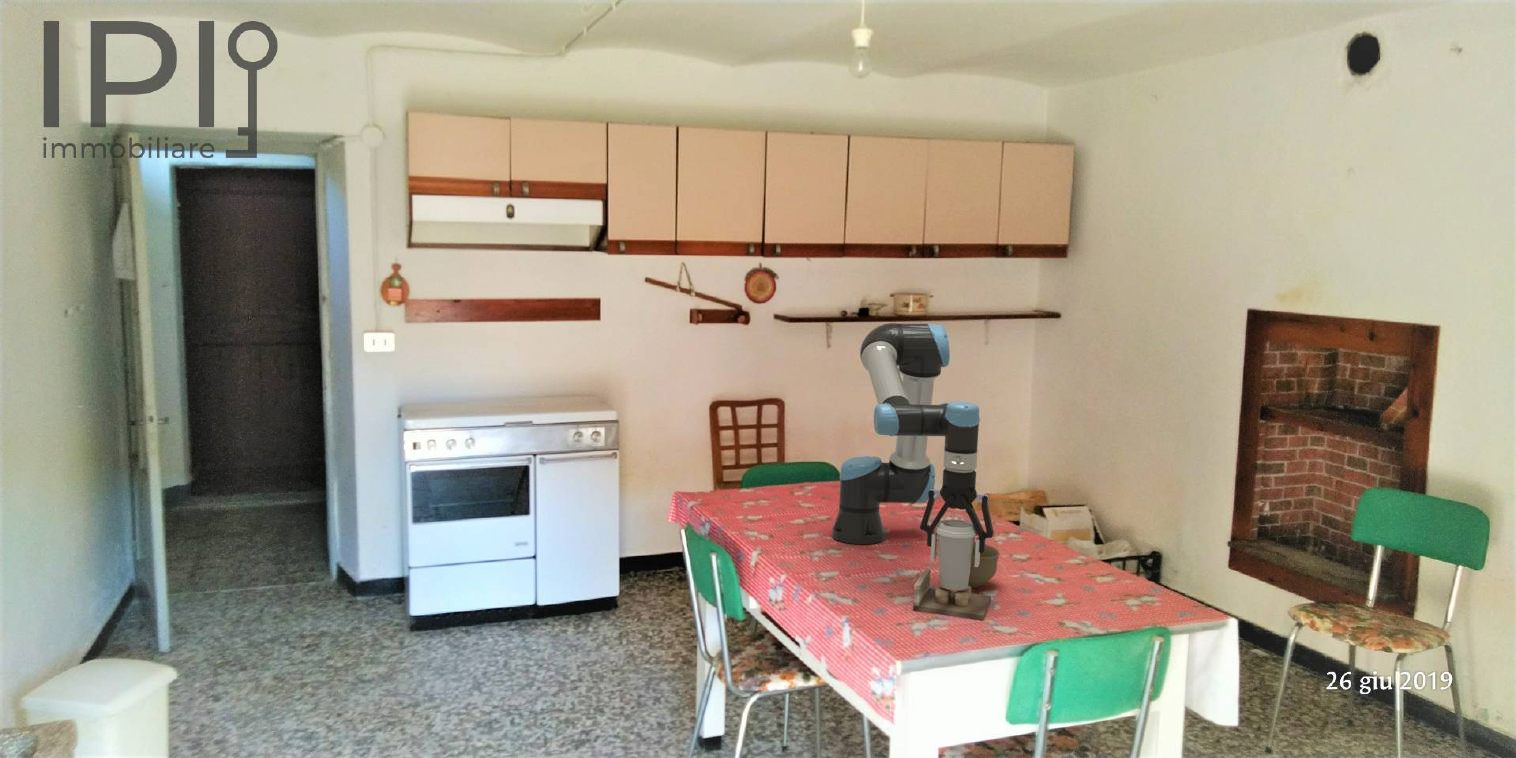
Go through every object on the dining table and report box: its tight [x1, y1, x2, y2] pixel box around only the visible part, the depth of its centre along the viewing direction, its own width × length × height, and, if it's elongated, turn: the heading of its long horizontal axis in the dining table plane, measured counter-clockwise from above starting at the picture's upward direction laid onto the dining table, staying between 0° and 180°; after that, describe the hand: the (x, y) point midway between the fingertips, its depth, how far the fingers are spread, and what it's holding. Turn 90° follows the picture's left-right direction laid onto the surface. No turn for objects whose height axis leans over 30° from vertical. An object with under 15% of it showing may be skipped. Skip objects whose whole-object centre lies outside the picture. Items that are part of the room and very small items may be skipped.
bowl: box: [968, 541, 1000, 589], centre depth 254 cm, size 13×13×10 cm
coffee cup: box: [935, 518, 978, 591], centre depth 237 cm, size 10×10×15 cm
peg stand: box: [912, 567, 992, 621], centre depth 239 cm, size 16×14×6 cm
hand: (954, 562), depth 238 cm, fingers closed on coffee cup, 9 cm apart
